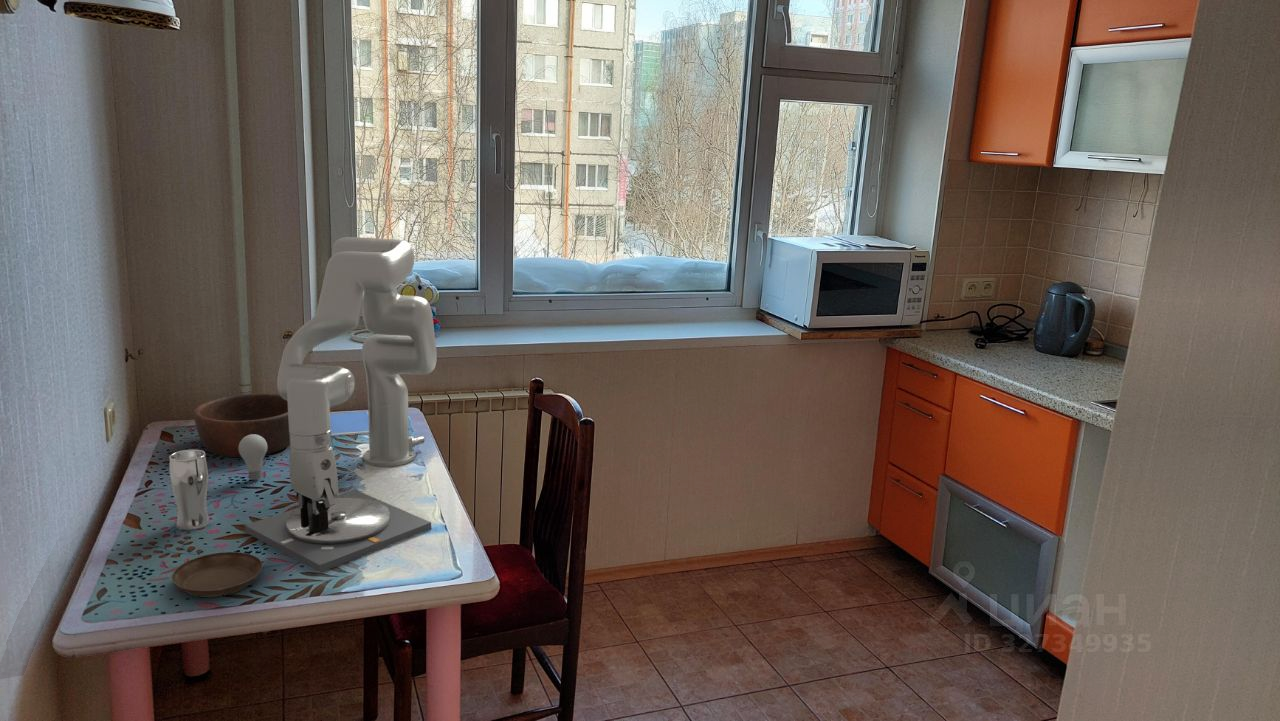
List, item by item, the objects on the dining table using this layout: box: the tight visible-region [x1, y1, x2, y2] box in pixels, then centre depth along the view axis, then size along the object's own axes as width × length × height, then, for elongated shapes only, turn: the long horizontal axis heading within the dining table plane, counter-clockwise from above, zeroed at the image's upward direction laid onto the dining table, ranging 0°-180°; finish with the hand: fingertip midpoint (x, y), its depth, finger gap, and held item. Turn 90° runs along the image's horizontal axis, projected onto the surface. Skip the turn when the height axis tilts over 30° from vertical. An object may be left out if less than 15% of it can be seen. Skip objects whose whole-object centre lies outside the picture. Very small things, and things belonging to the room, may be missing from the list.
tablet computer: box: [330, 410, 369, 437], centre depth 252 cm, size 19×13×1 cm, turn 22°
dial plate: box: [244, 489, 432, 573], centre depth 187 cm, size 26×26×2 cm
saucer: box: [171, 551, 264, 598], centre depth 164 cm, size 15×15×3 cm
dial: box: [286, 498, 390, 544], centre depth 185 cm, size 20×20×7 cm
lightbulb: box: [238, 434, 268, 482], centre depth 210 cm, size 6×6×11 cm
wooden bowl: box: [193, 393, 290, 458], centre depth 232 cm, size 25×25×10 cm
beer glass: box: [168, 449, 210, 531], centre depth 185 cm, size 7×7×15 cm
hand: (314, 527), depth 179 cm, fingers closed on dial, 3 cm apart
